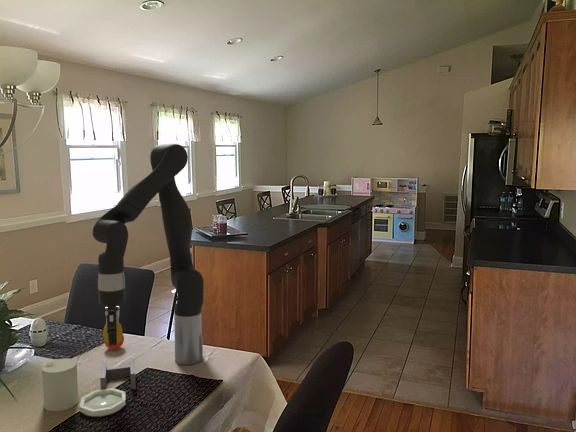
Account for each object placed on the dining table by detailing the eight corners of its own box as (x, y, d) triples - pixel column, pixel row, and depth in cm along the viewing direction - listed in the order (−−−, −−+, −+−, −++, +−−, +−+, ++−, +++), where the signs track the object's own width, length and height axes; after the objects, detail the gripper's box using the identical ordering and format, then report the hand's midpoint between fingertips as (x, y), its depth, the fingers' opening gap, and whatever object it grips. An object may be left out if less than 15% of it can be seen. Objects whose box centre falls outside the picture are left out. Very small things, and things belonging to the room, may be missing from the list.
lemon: (116, 350, 138) (115, 324, 137) (99, 348, 139) (98, 322, 138) (126, 343, 144) (125, 317, 143) (110, 341, 145) (109, 316, 144)
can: (51, 395, 140) (49, 356, 138) (83, 394, 140) (81, 356, 139) (37, 412, 131) (35, 371, 129) (72, 411, 131) (70, 370, 130)
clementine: (100, 347, 174) (99, 328, 173) (118, 342, 179) (117, 324, 178) (108, 354, 168) (108, 335, 168) (127, 348, 173) (126, 330, 172)
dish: (125, 391, 142) (125, 386, 142) (125, 412, 131) (125, 406, 131) (82, 397, 138) (82, 392, 138) (78, 419, 127) (78, 413, 127)
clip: (135, 373, 154) (134, 359, 153) (135, 388, 144) (135, 373, 144) (102, 377, 151) (101, 363, 150) (100, 393, 141) (100, 378, 140)
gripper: (124, 292, 134) (126, 349, 136) (125, 279, 147) (126, 331, 149) (96, 294, 131) (98, 352, 133) (99, 281, 145) (101, 333, 147)
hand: (113, 340), depth 141 cm, fingers closed on lemon, 5 cm apart
